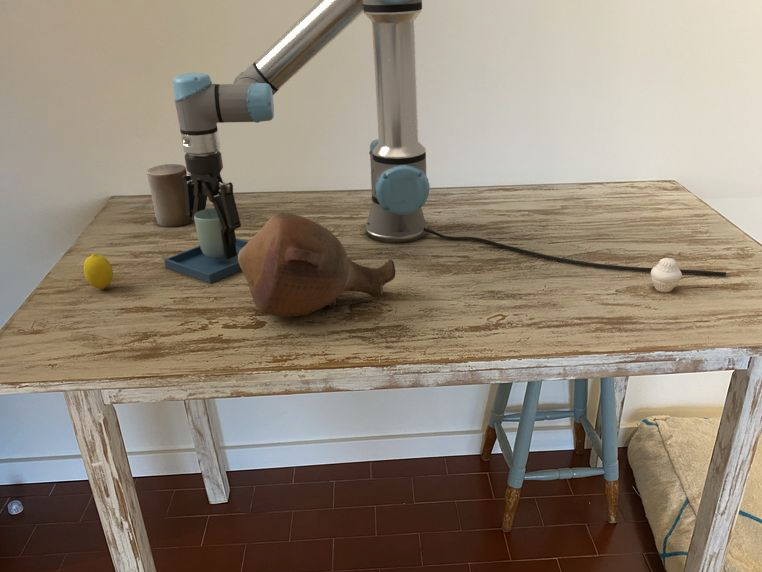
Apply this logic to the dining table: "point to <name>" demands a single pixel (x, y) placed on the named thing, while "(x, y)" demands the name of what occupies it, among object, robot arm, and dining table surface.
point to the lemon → (98, 271)
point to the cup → (209, 233)
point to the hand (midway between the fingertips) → (218, 252)
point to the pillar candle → (168, 194)
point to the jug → (303, 268)
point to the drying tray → (205, 264)
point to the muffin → (666, 275)
